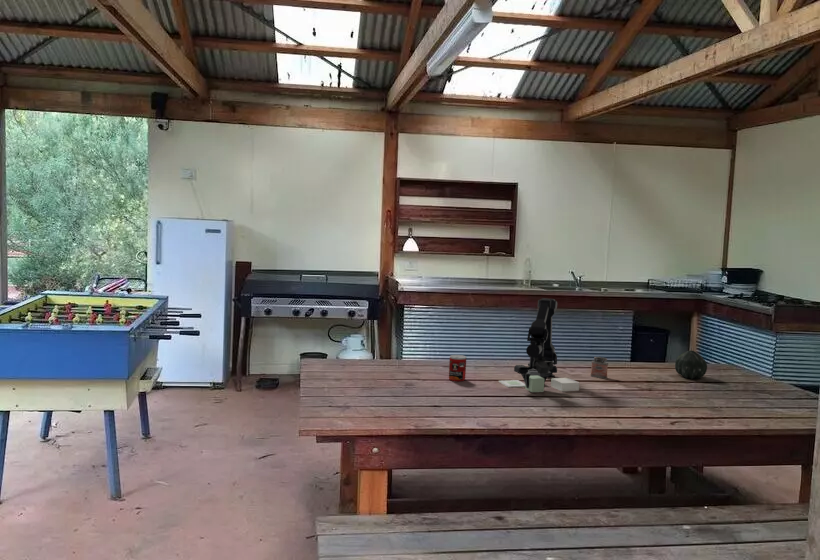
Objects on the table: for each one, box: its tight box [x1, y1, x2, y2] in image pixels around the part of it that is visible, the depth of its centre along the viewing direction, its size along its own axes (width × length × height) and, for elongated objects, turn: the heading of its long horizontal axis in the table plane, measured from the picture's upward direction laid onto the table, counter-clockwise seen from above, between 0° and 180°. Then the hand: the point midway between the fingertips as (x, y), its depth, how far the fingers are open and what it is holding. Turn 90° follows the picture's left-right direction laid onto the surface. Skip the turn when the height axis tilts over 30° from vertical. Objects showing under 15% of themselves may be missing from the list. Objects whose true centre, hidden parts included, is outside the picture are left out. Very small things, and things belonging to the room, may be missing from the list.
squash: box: [674, 350, 708, 380], centre depth 325 cm, size 14×15×15 cm
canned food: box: [448, 354, 467, 382], centre depth 299 cm, size 8×8×11 cm
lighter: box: [590, 356, 609, 379], centre depth 317 cm, size 8×3×10 cm, turn 62°
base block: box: [550, 377, 580, 392], centre depth 291 cm, size 9×9×4 cm
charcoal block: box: [529, 371, 540, 376], centre depth 300 cm, size 6×6×6 cm
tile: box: [498, 379, 525, 388], centre depth 295 cm, size 10×10×1 cm
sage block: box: [524, 375, 545, 393], centre depth 285 cm, size 6×6×6 cm
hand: (534, 387), depth 286 cm, fingers open, 7 cm apart
